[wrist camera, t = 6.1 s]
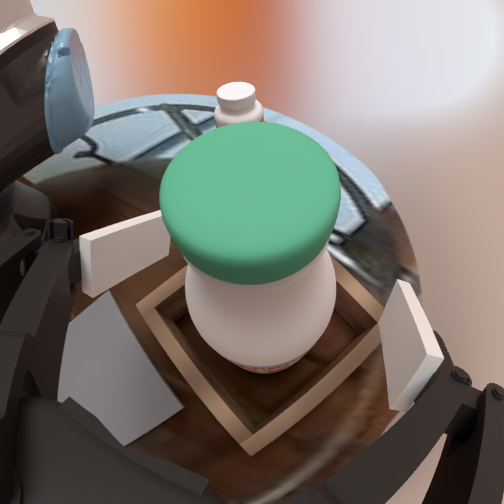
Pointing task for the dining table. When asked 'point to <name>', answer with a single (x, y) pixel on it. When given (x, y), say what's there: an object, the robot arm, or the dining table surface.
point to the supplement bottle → (237, 104)
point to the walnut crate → (217, 397)
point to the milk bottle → (255, 240)
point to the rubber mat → (114, 373)
